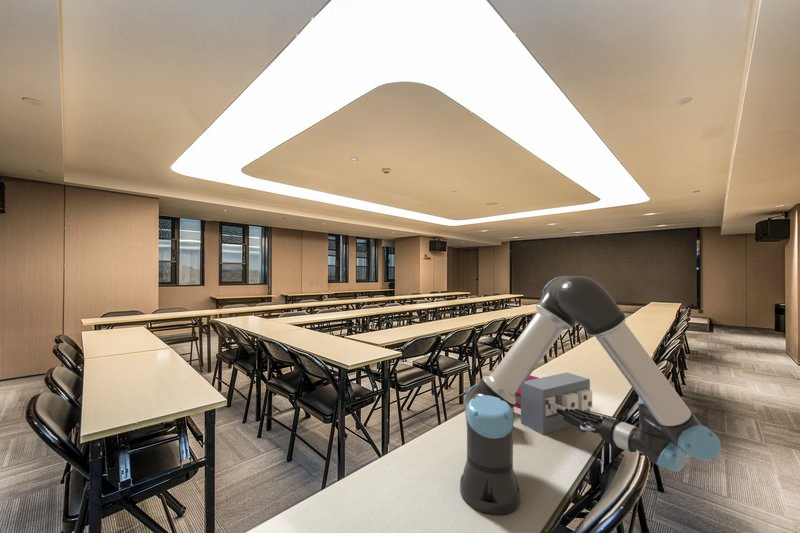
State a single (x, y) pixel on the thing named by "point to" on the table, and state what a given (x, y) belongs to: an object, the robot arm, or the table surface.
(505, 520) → the table surface
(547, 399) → the three dot tile
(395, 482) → the table surface
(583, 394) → the two dot tile
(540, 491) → the table surface
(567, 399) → the one dot tile
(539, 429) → the tile console
